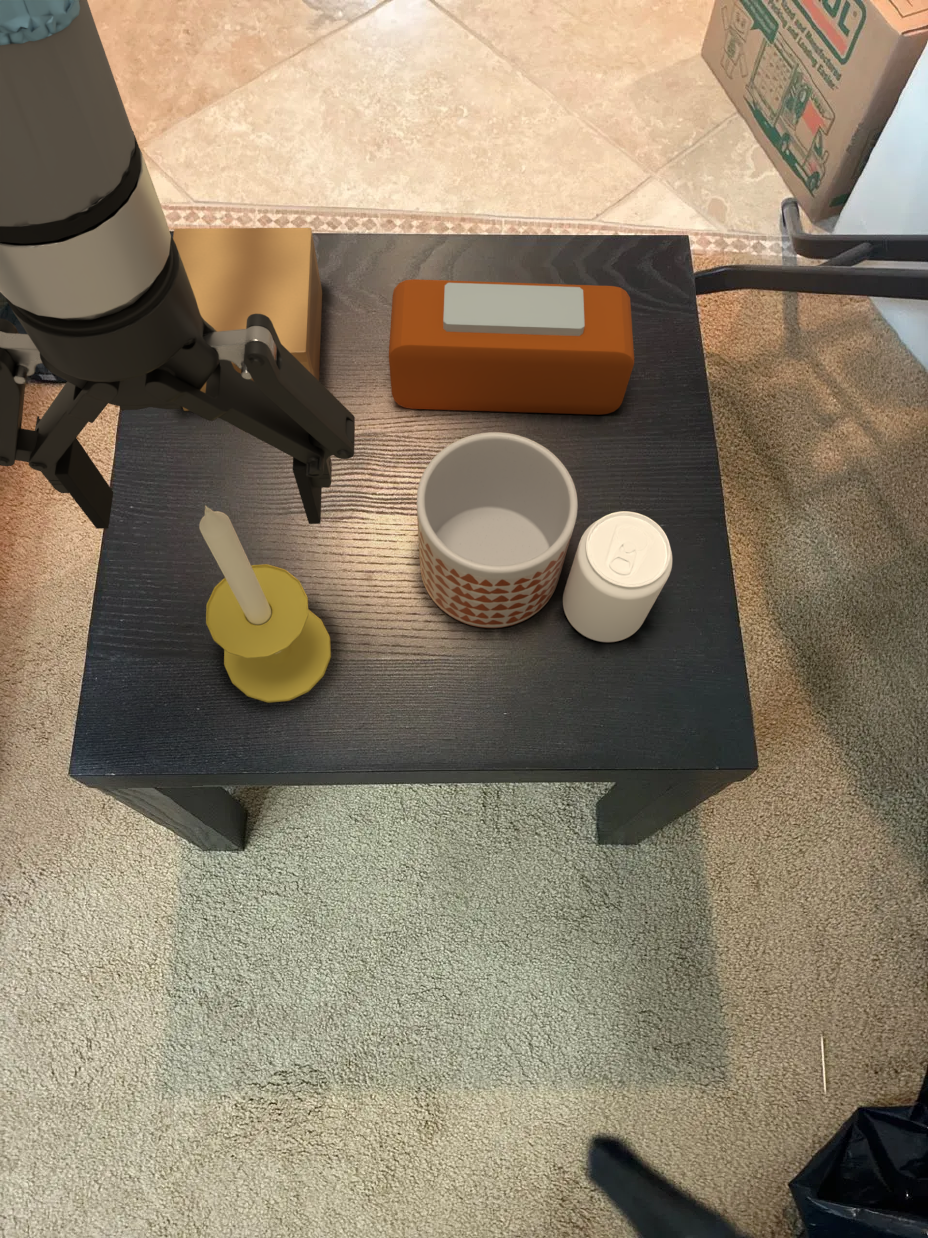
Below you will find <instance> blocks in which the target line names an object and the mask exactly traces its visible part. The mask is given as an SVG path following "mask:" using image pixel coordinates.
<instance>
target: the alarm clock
mask: <svg viewBox="0 0 928 1238" xmlns="http://www.w3.org/2000/svg"><path fill="white" fill-rule="evenodd" d="M631 303H632V302H631V297H630V295H629V294H628V292H627V291H626V290H625V289H623V288H622V287H619V286H614V285H590V284H566V283H565V284H564V283H563V284H560V283H535V282H534V283H533V282H530V283H529V282H505V281H504V282H501V281H479V280H478V281H476V280H475V281H473V280H449V279H448V280H445V279H443V280H442V279H419V278H418V279H417V278H416V279H415V278H411V279H404V280H402V281H401V282H399V283H398V284H397V285H396V286H395V287H394V288H393V291H392V299H391V312H390V314H391V315H390V327H389V346H388V366H389V367H388V368H389V378H390V391H391V396H392V399H393V400H394V402H395V403H396V404H397V405H399V406H400V407H403V408H405V409H412V410H418V409H419V410H441V411H473V412H475V411H477V412H501V413H502V412H505V413H535V414H537V413H538V414H565V415H566V414H567V415H568V414H570V415H598V416H599V415H608V414H611V413H614V412H615V411H617V410H618V409H619V408H620V407H621V405H622V404H623V402H624V398H625V395H626V391H627V389H628V385H629V381H630V378H631V375H632V371H633V369H634V366H635V350H634V336H633V335H634V334H633V320H632V306H631Z"/></svg>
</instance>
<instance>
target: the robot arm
mask: <svg viewBox="0 0 928 1238" xmlns="http://www.w3.org/2000/svg"><path fill="white" fill-rule="evenodd" d="M103 45H104V44H103V42H102V40H101V37H100V33H99V31H98V28H97V25H96V22H95V19H94V16H93V13H92V10H91V7H90V4H89V1H88V0H0V294H1V295H3V296H4V298H5V300H6V302H7V304H8V305H9V308H10V309H11V311H12V312H13V314H14V316H15V318H17V320H18V321H19V323H20V325H21V326H22V328H23V329H24V331H25V332H26V333H19V331H18V329H17V327H16V325H15V324H14V323H13V322H11V321H10V320H7V319H5V318H1V317H0V466H2V467H12V466H14V465H15V463H16V461H19V462H23V463H28V466H29V468H31V469H32V470H35V471H38V472H40V473H41V474H42V475H43V476H44V478H45V479H46V480H47V482H48V483H49V484H50V485H51V486H52V488H53V489H54V490H55V491H57V492H58V493H60V494H69V495H70V497H71V498H72V499H73V500H74V501H75V503H76V504H77V505H78V507H79V508H80V509H81V511H82V512H83V513H84V515H85V516H86V517H87V518H88V520H89V521H90V522H91V524H92V525H93V526H94V527H95V529H96V530H98V529H100V530H103V529H105V530H106V529H109V527H110V519H111V513H112V505H113V498H114V491H113V489H112V488H111V486H110V485H109V483H108V482H107V480H106V479H105V478H104V476H103V475H102V473H101V472H100V470H99V468H98V467H97V466H96V464H95V463H94V461H93V460H92V459H91V457H90V456H89V454H88V453H87V451H86V450H85V448H84V447H83V445H82V444H81V442H80V441H79V439H78V438H77V437H78V436H79V435H80V433H82V431H83V430H84V429H85V427H86V426H87V424H88V423H90V424H93V423H94V422H95V421H96V420H97V418H98V417H99V416H100V415H101V414H102V412H103V411H104V410H105V408H106V406H108V405H112V406H116V407H119V408H120V409H121V411H138V410H142V409H143V410H144V409H148V408H153V409H162V410H183V407H184V408H186V409H187V410H189V411H188V412H191V413H193V414H195V415H197V416H199V417H201V418H203V419H205V420H206V421H209V422H213V421H215V420H216V419H220V420H222V421H224V422H226V423H228V424H230V425H232V426H233V427H235V428H237V429H239V430H242V431H243V432H244V433H247V434H248V435H251V436H253V437H254V438H256V439H258V440H260V441H261V442H264V443H266V444H267V445H269V446H271V447H273V448H275V449H276V450H279V451H281V453H282V452H283V453H284V454H286V455H288V456H290V457H292V473H293V476H294V479H295V483H296V487H297V489H298V493H299V496H300V500H301V502H302V503H301V504H302V505H303V510H304V512H305V516H306V519H307V523H308V525H321V523H322V522H321V520H322V494H323V493H322V489H323V488H330V486H331V484H332V476H333V475H332V472H333V463H332V462H333V461H332V457H331V456H334V457H335V458H337V459H341V460H349V459H351V458H353V457H354V456H355V443H356V441H355V440H356V437H355V436H356V432H355V431H356V422H355V421H356V417H355V415H354V414H353V413H352V411H350V410H349V409H348V408H347V407H346V406H345V405H344V404H343V403H342V402H341V401H340V400H339V399H338V398H337V397H336V396H335V395H334V394H333V393H332V392H330V391H329V389H328V388H326V386H325V385H323V383H321V381H320V380H319V381H318V380H317V379H316V378H315V377H314V376H313V375H312V374H311V373H310V372H309V371H308V370H307V369H306V368H305V367H304V366H303V365H302V364H301V363H300V362H299V361H298V360H297V359H296V358H295V357H294V356H293V355H292V354H291V353H290V352H289V351H288V350H287V349H286V348H285V347H284V346H283V345H282V344H281V342H280V340H279V338H278V335H277V333H276V331H275V328H274V326H273V324H272V321H271V320H270V319H269V317H267V316H266V315H263V314H252V315H250V316H249V317H248V318H247V325H246V329H239V330H229V331H219V332H216V330H215V329H214V328H213V327H212V326H211V325H209V324H208V323H207V322H206V321H205V320H204V319H203V318H202V316H201V314H200V312H199V308H198V305H197V302H196V298H195V295H194V292H193V290H192V287H191V284H190V282H189V279H188V276H187V273H186V271H185V268H184V265H183V262H182V260H181V257H180V254H179V252H178V249H177V246H176V244H175V242H174V240H173V236H172V234H171V232H170V231H171V230H170V228H169V225H168V221H167V218H166V215H165V211H164V210H163V207H162V204H161V202H160V199H159V195H158V194H157V191H156V188H155V185H154V182H153V179H152V177H151V174H150V171H149V168H148V166H147V163H146V161H145V157H144V155H143V152H142V150H141V148H140V146H139V145H140V144H139V143H138V140H137V137H136V135H135V133H134V132H135V131H134V130H133V128H132V124H131V122H130V119H129V117H128V113H127V111H126V108H125V105H124V103H123V99H122V97H121V94H120V91H119V89H118V85H117V83H116V82H117V81H116V79H115V77H114V73H113V70H112V68H111V65H110V63H109V60H108V57H107V54H106V51H105V48H104V46H103ZM232 362H233V363H234V364H235V365H236V366H237V367H238V368H240V369H241V373H239V372H237V371H236V370H235V369H234V367H233V365H232ZM41 364H42V365H43V366H44V367H45V368H46V369H47V370H48V371H49V372H50V373H52V374H53V375H55V376H57V377H59V378H60V379H63V380H64V381H66V382H65V384H64V385H63V386H62V388H61V390H60V391H59V392H58V394H57V395H56V397H55V398H54V400H53V401H52V402H51V404H50V405H49V406H48V408H47V410H45V412H44V414H43V415H42V416H41V418H40V416H39V415H37V416H36V422H35V426H34V430H33V429H27V428H22V426H23V425H22V424H23V416H24V415H23V414H24V405H25V393H26V384H27V383H26V382H27V377H30V376H33V375H34V374H35V373H36V368H37V366H38V365H41ZM251 379H253V380H254V381H253V380H251ZM205 383H206V392H205V393H204V392H202V391H200V390H201V388H202V387H203V386H204V384H205Z"/></svg>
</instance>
